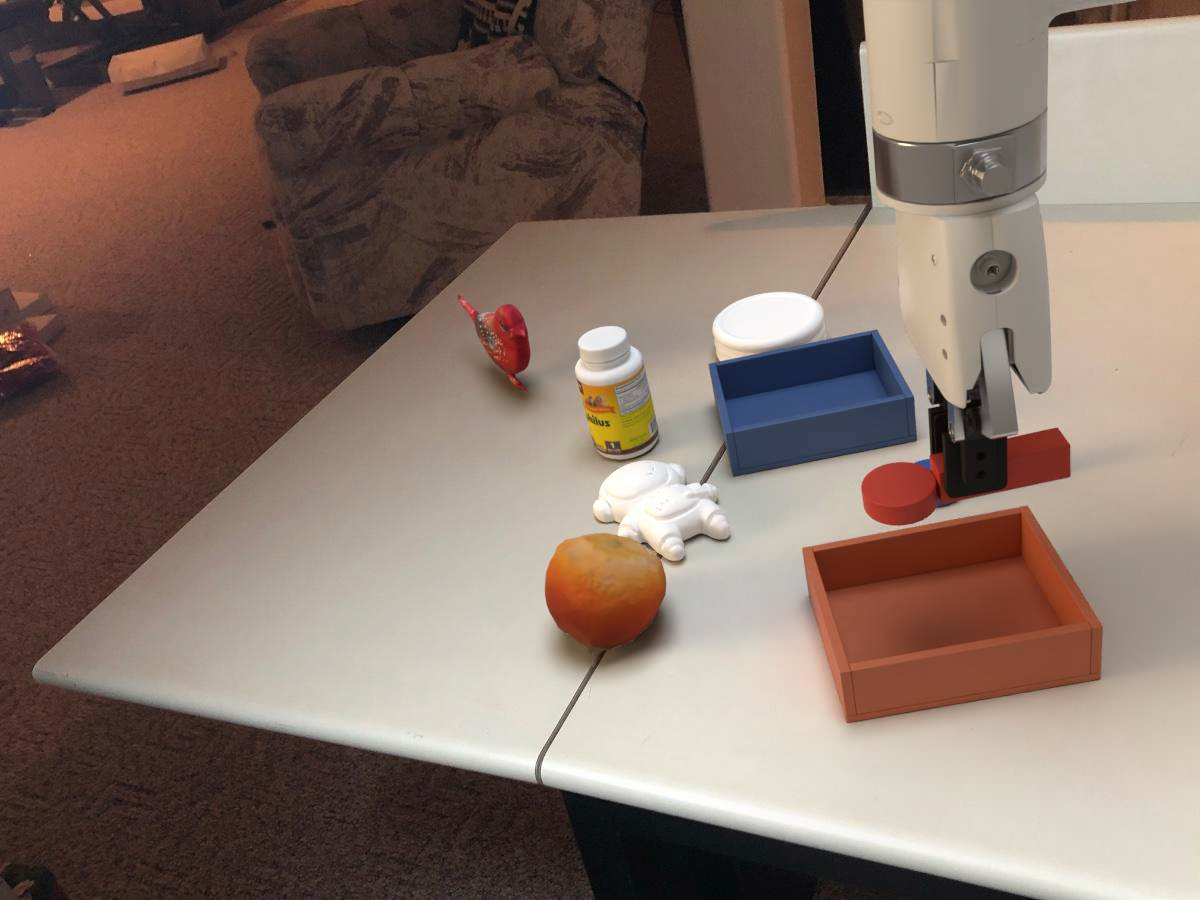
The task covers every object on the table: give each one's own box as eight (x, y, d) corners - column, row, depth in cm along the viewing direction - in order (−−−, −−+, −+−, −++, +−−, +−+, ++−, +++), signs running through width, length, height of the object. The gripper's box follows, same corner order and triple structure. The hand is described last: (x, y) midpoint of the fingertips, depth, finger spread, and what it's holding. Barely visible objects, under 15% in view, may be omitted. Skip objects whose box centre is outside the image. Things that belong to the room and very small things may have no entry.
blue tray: (880, 370, 92) (877, 328, 90) (917, 440, 82) (914, 396, 80) (715, 403, 93) (708, 363, 91) (733, 476, 84) (725, 433, 82)
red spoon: (1050, 448, 61) (1050, 415, 60) (1079, 489, 58) (1079, 456, 56) (856, 489, 62) (852, 459, 61) (873, 532, 59) (869, 501, 58)
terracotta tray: (1027, 554, 70) (1027, 504, 68) (1100, 678, 60) (1103, 626, 58) (808, 594, 71) (801, 547, 69) (846, 723, 62) (840, 673, 59)
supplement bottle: (584, 444, 92) (556, 339, 87) (640, 417, 94) (615, 313, 88) (614, 471, 88) (586, 362, 82) (672, 443, 89) (649, 334, 84)
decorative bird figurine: (533, 417, 98) (504, 320, 92) (462, 353, 112) (433, 265, 106) (560, 404, 99) (533, 307, 93) (486, 343, 113) (459, 255, 107)
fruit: (506, 633, 72) (529, 520, 70) (596, 621, 77) (620, 516, 75) (581, 689, 66) (608, 568, 64) (672, 672, 71) (700, 560, 70)
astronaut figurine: (642, 580, 76) (634, 547, 74) (580, 499, 85) (572, 468, 84) (751, 531, 78) (746, 498, 76) (678, 458, 87) (672, 426, 86)
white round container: (695, 361, 100) (688, 327, 98) (766, 314, 105) (761, 281, 103) (777, 388, 93) (772, 353, 91) (850, 336, 98) (846, 302, 96)
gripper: (1116, 195, 43) (1098, 555, 52) (984, 91, 56) (989, 394, 66) (925, 234, 43) (942, 582, 53) (839, 122, 57) (866, 417, 66)
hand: (968, 476), depth 59 cm, fingers closed on red spoon, 1 cm apart
